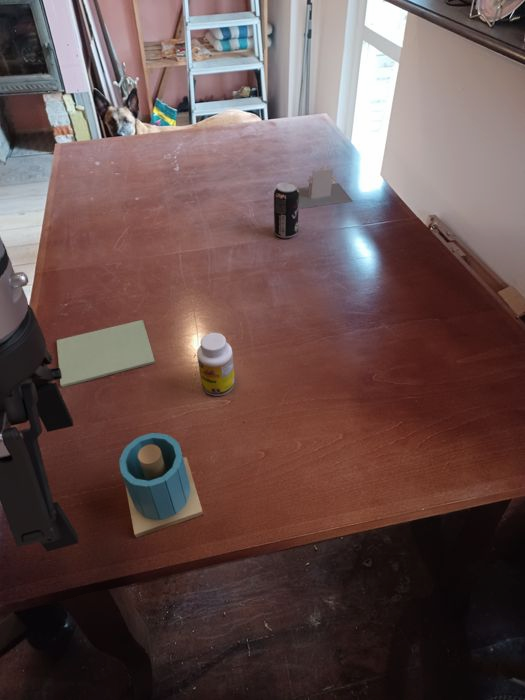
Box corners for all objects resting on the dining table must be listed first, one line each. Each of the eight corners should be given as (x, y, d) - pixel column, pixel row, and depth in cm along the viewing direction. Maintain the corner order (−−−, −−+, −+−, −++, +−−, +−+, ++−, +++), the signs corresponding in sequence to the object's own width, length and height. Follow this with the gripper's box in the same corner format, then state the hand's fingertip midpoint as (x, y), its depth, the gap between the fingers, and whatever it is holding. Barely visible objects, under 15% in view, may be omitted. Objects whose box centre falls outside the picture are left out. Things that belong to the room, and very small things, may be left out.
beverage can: (293, 226, 117) (294, 179, 109) (300, 237, 113) (303, 190, 105) (271, 229, 116) (270, 182, 108) (277, 241, 112) (278, 193, 104)
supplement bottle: (195, 385, 80) (187, 341, 73) (219, 368, 83) (214, 323, 76) (217, 403, 77) (211, 359, 70) (242, 384, 80) (238, 340, 73)
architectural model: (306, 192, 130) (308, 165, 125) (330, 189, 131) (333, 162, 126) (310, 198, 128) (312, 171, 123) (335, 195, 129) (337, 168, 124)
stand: (135, 538, 62) (117, 497, 54) (125, 479, 68) (107, 436, 60) (203, 514, 64) (194, 472, 56) (187, 460, 70) (177, 415, 62)
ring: (138, 527, 61) (124, 494, 56) (129, 478, 67) (115, 443, 61) (196, 508, 63) (188, 474, 57) (182, 462, 68) (174, 426, 62)
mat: (61, 387, 80) (60, 385, 80) (57, 342, 89) (56, 340, 88) (155, 363, 84) (154, 360, 84) (143, 321, 92) (142, 319, 92)
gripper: (26, 458, 25) (110, 593, 41) (35, 224, 42) (92, 381, 57) (-133, 496, 24) (16, 623, 39) (-59, 236, 41) (25, 395, 56)
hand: (61, 479), depth 48 cm, fingers open, 13 cm apart
